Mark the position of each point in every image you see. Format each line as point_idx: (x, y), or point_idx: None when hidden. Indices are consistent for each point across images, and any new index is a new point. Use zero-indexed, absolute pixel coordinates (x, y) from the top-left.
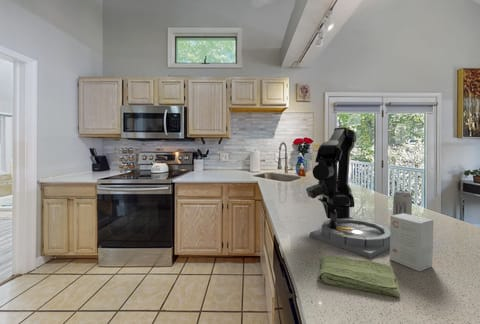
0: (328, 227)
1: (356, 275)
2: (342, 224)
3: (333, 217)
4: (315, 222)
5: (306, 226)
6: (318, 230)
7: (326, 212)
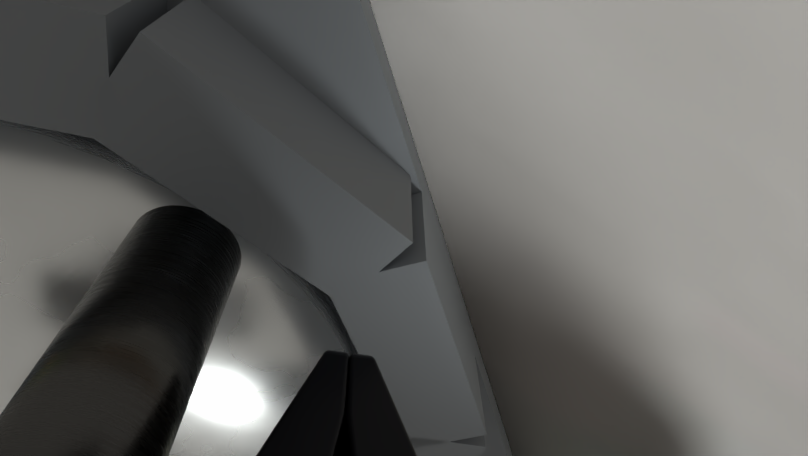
0: (15, 110)
1: None
2: None
3: (20, 392)
4: (794, 285)
5: (771, 50)
6: (326, 13)
7: (347, 454)
